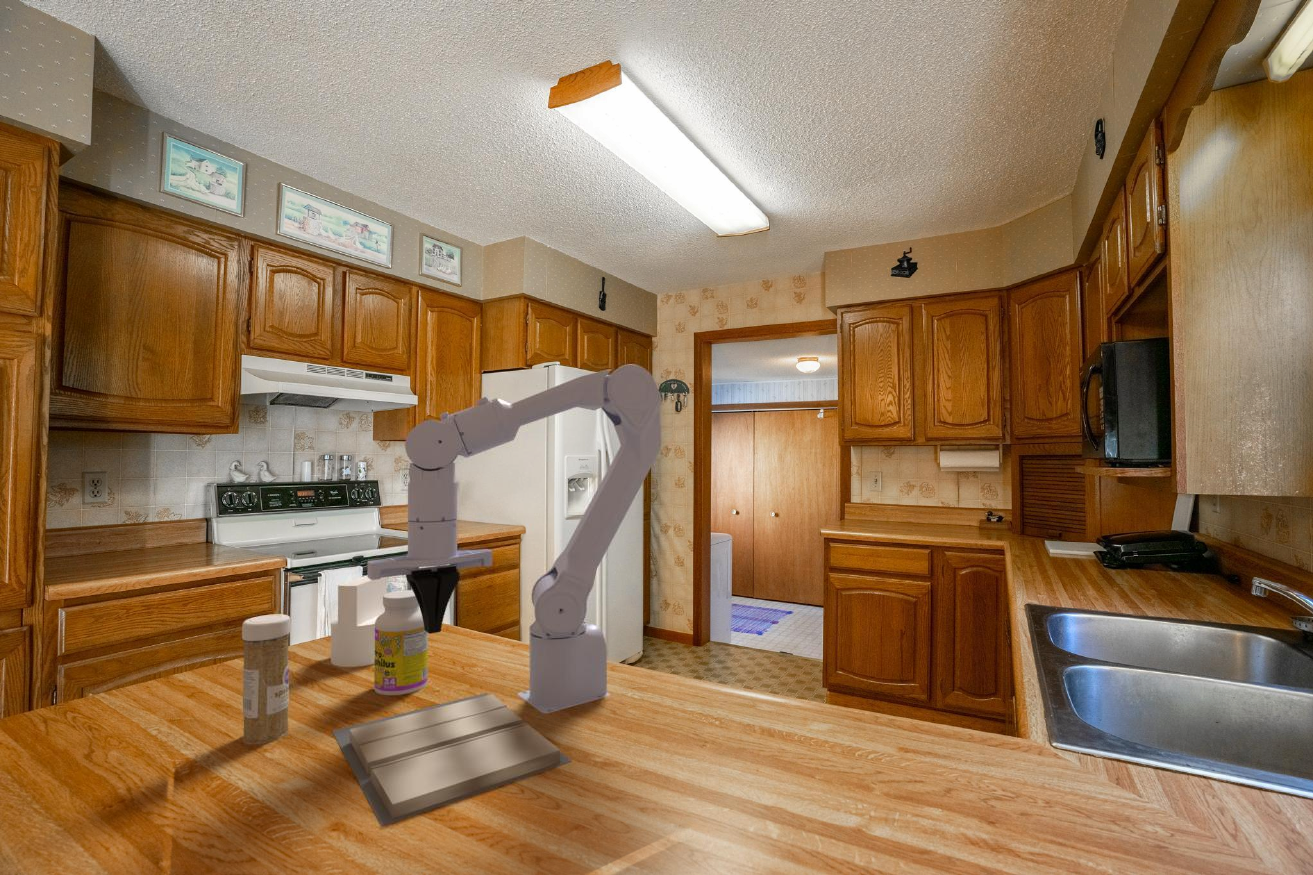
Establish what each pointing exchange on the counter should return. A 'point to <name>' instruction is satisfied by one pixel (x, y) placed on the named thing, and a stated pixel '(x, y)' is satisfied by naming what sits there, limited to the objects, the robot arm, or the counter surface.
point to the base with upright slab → (357, 621)
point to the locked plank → (461, 768)
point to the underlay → (365, 779)
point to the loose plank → (430, 730)
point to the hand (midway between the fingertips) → (432, 631)
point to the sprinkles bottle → (265, 678)
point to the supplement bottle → (400, 646)
